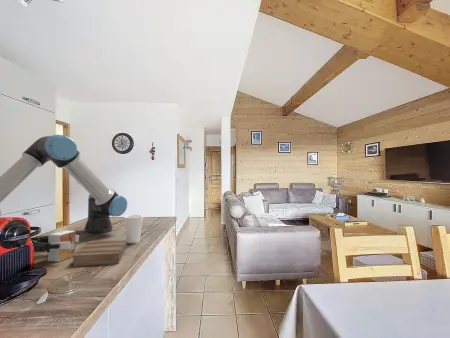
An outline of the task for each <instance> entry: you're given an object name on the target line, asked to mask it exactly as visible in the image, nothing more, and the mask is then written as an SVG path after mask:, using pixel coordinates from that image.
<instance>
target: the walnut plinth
mask: <svg viewBox="0 0 450 338" xmlns="http://www.w3.org/2000/svg"><path fill="white" fill-rule="evenodd" d="M127 247H128V243H127V240H126V239H108V240H107V239H105V240H104V239H103V240H102V239H101V240H89V241H88V242H87V243H86V244H84V245H83V247H81V248H80V249H79V250H78V251H77V252H75V255H73V261H72V263H73V265H72V266H73V267H81V266H98V265H111V264H112V265H113V264H120V261H121V260H122V258H123V257H124V254H125V252H126V251H127Z"/></svg>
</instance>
